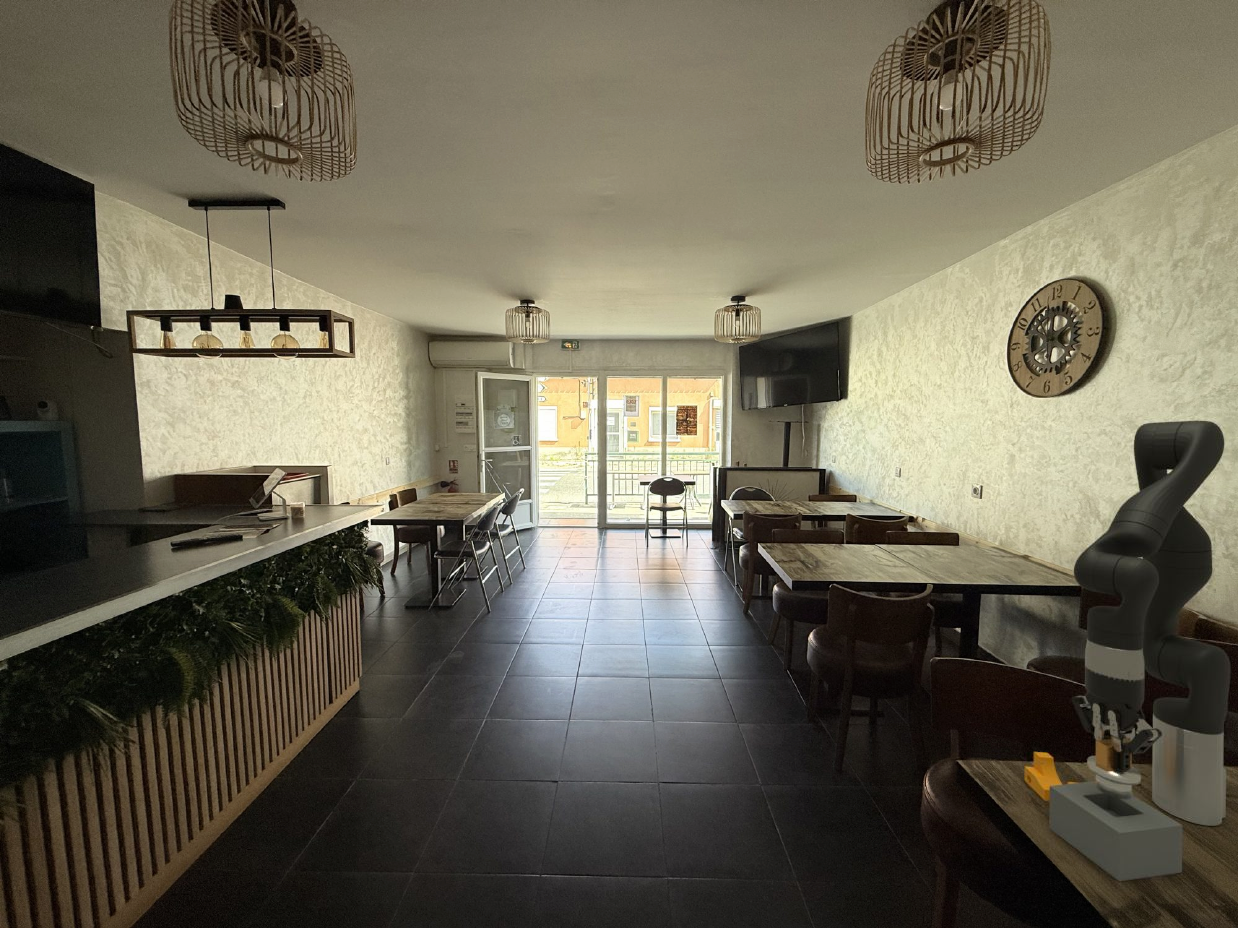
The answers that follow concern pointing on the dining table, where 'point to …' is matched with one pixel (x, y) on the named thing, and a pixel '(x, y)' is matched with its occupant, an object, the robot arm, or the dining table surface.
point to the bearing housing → (1116, 831)
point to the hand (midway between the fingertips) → (1113, 766)
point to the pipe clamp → (1042, 775)
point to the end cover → (1111, 772)
